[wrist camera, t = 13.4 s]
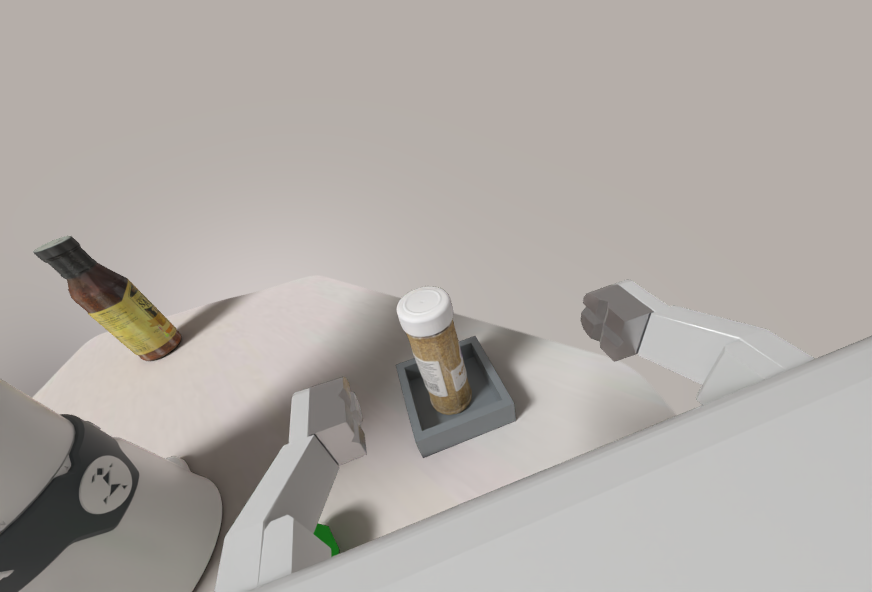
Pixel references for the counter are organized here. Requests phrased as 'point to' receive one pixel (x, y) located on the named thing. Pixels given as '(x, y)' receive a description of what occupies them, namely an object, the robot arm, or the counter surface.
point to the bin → (477, 418)
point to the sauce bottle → (111, 300)
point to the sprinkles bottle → (436, 347)
